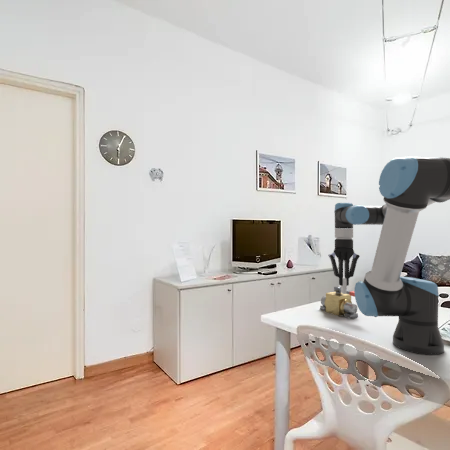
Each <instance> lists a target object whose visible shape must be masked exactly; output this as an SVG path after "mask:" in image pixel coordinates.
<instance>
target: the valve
mask: <svg viewBox="0 0 450 450" xmlns="http://www.w3.org/2000/svg"><path fill="white" fill-rule="evenodd" d="M320 303H321V305H320V310H322V311H325V313H328V314H331V315H335V316H337V317H341V316H344V317H345V318H347V319H353V318H354V319H355V318H359V317H358V316H359V313H357V312H358V306H357V304H356V303H355V304H354V303H353V302H352V296H351V295H349V294H343V293H341V292H336V291H331V292H325V295H324V296H322V297H321V299H320Z"/></svg>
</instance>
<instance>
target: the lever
mask: <svg viewBox="0 0 450 450" xmlns="http://www.w3.org/2000/svg"><path fill="white" fill-rule="evenodd" d="M333 292H341V286H333ZM347 294H349V295H351V297H354V298H355V292H354V290H349V289H347Z"/></svg>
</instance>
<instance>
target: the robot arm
mask: <svg viewBox="0 0 450 450" xmlns="http://www.w3.org/2000/svg"><path fill="white" fill-rule="evenodd" d="M382 168H383V169H382V170H381V173H380V175H379V179H378V185H379V186H378V189H379V190H378V191H379V193H380V195H381V196H382V197H383V202H384V203H385V204H383V205H360V204H359V205H357V204H355V205H353V203H352V202H337V203H335V205H334V238H335V239H334V249H333V252H332V253H330V254H328V258H329V260H330V262H331V266H332V271H333V275H334V276H335V277H337V278H338V285H339V287H341V293H343V294H347V290H348V289H347V288H348V286H349V285H350V284H349V283H350V278H353V277H354V276H355V270H356V267H357V263H358V260H359V258H360V255H359V254H357V253H355V250H354V239H353V238H354V225H357V226H358V225H360V226H361V225H364V226H365V225H366V226H367V225H369V226H370V225H374V226H375V225H377V226H378V225H379V226H381V231H380V234H379V238H378V243H377V246H376V250H375V255H374V259H373V263H372V267H371V270H369V271H367V272H366V273H365V275H364V279H363V280H359V281H357V282H356V283H355V284H354V290H353V291H354V292H355V297H354V298H355V299H354V300H355V302H356V303H355V304H356V305H357V309H358V310H359V311H360V313H362V314H363V315H364V316H365V317H375V318H377V317H398V322H397V324H396V327H395V330H394V332H393V335H392V343H393V345H394V346H395V347H396V348H398V349H402V350H405V351H407V352H411V353H415V354H421V355H429V356H430V355H440V354H443V353H444V351H445V343H444V340H443V338H442V335H441V331H440V329H439V297H440V294H439V287H438V285H437V283H436V282H434V281H430V280H426V279H422V278H421V279H420V278H418V277H417V278H416V277H410V276H409V277H408V276H401V275H402V271H403V268H404V265H405V261H406V259H407V254H408V251H409V248H410V244H411V240H412V237H413V234H414V231H415V227H416V224H417V221H418V217H419V213H420V212H422V211H423V210H425V209H427V207H428V206H430V205H432V204H434V203H439V204H440V203H445V202H447V201H450V158H449V157H443V156H442V157H441V156H440V157H429V156H427V157H426V156H425V157H424V156H423V157H422V156H409V155H408V156H400V157H395V158H393V159H391V160H389V162H387V163H386V164H385V165H384V167H382ZM336 258H337V259H338V260H337V261H338V265H337V261H336ZM351 258H352V259H351ZM350 259H351V263H350Z"/></svg>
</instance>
